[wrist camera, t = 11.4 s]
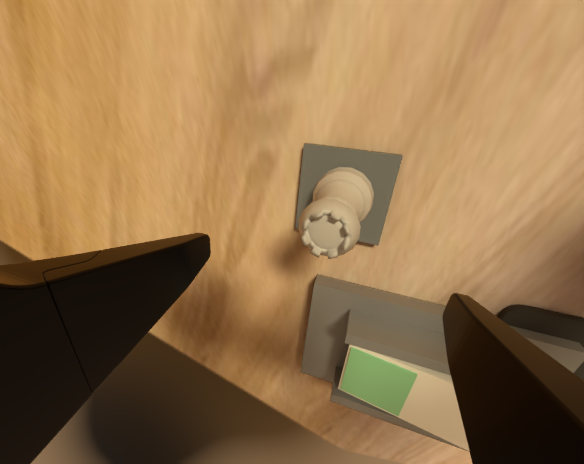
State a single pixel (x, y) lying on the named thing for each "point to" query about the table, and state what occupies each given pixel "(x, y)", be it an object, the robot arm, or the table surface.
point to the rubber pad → (370, 163)
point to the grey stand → (389, 337)
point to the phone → (546, 324)
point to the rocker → (405, 392)
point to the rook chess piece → (336, 212)
